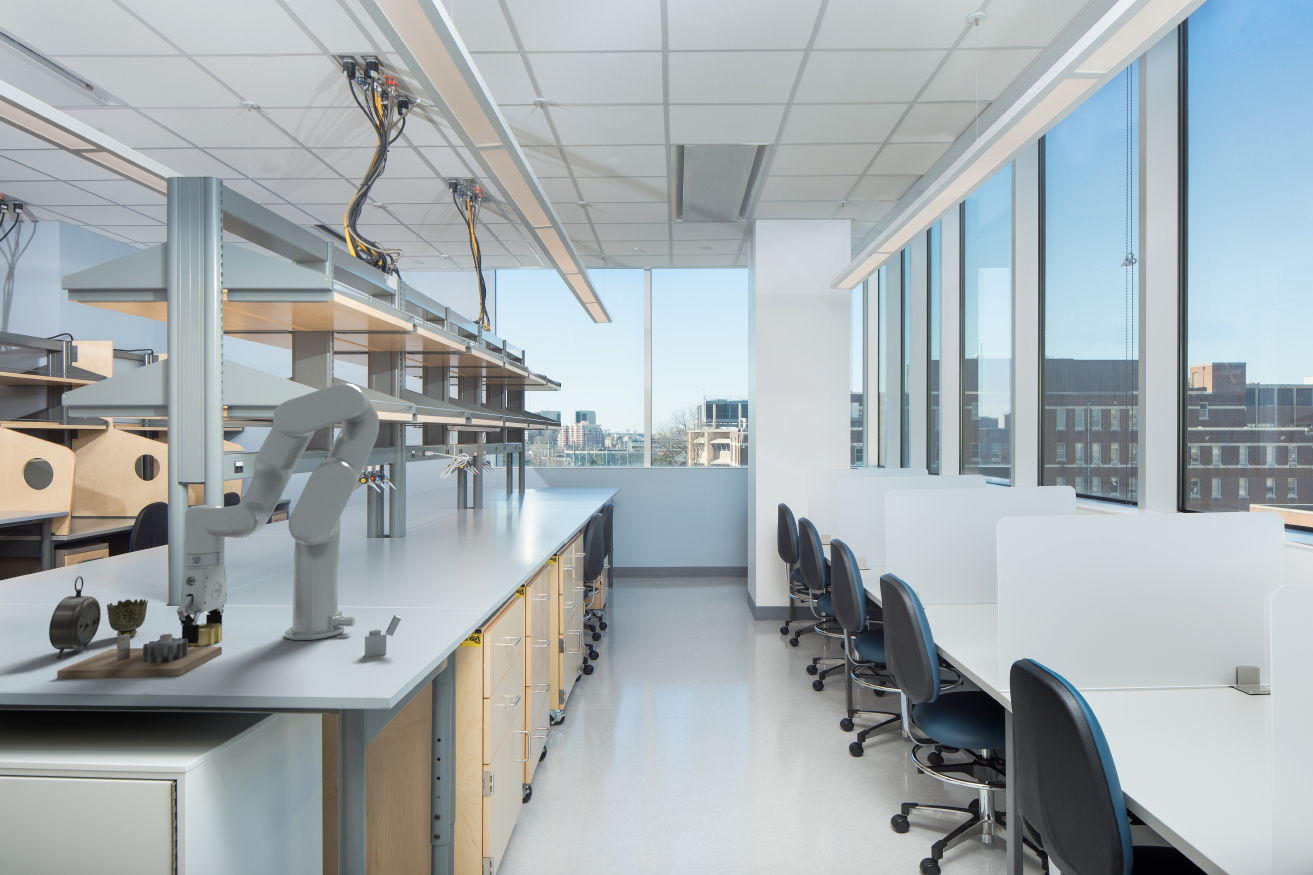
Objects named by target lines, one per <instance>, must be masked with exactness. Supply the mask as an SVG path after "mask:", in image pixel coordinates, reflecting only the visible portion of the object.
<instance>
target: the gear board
mask: <svg viewBox="0 0 1313 875" xmlns="http://www.w3.org/2000/svg"><path fill="white" fill-rule="evenodd" d="M116 642H117V644H116V645H117V647H116V648H110V649H108V650H106V651H103V652H100V653H97V654H95V655H92V656H90V657H88V658H85V659H83V660H81V661H78V662H76V663H73V664H71V665H67V666H65V667H63V668H61V669H59V670H58V669H57V671H56V673H57V674H56V679H59V680H64V679H100V678H101V679H103V678H104V679H106V678H107V679H108V678H144V677H145V678H147V677H148V678H149V677H150V678H154V677H158V678H159V677H182V676H183V675H185V674H188V672H190V671H192V670H195V669H196V668H198V667H200V666H201V665H203V664H206V663H208V662H209V661H211V660H213V659H215V658H216V657H219V656H220V655H222V653H223V652H222V651H223V647H222V646H202V647H201V646H196V647H191V646H188V639H183V638H182V637H178V638H175V637H173V634H172V633H163V634H161V635H159V639H158V640H155V641H153V640H152V641H149V642H148V643H144V644H143V646H142V647H140V648H138V647H136V648H135V647H134V648H132V647H131V637H130V635H120V636H117V640H116Z"/></svg>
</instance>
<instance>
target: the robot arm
mask: <svg viewBox="0 0 1313 875" xmlns="http://www.w3.org/2000/svg"><path fill="white" fill-rule="evenodd" d="M272 422H273V425H272V427H271V429H270V430H269V433H268V434H267V436H266V438H265V440H264V441H263V443H262V445H260V449H259V450H258V452H257V453H256V455H255V457H254V461H253V475H252V477H251V480H250V483H249V485H248V487H247V489H246V491H245V493H244V494H243V496H242V498H241V500H240V501H239V502H238V504H236V505H231V506H222V505H217V504H200V505H192V506H189V507H188V508H187V509H186V511H185V512H184V544H183V546H184V549H183V569H184V572H183V578H182V582H181V583H182V585H181V593H180V594H181V596H180V604H179V606H178V608H177V609H176V613H177V615H178V620H179V621H180V626H181V638H183V639H188V643H197V642H198V641H199V624H200V623H199V624H198V621H199V619H200V616H201V614H206V621H205V622H206V623H205V624H209V623H214V624H216V623H220V624H222V625H223V614H224V607H225V605H226V603H227V601H228V591H227V590H228V588H227V587H228V586H227V584H228V583H227V582H228V581H227V572H226V566H225V538H236V539H237V538H239V539H241V538H247V537H250V536H251V535H254V534H255V533H256V532H257V533H258V532H259V531H261V530H262V529H263V528H264V527H265V526H266V525H267V523H268V522H269V520H270V518H271V517H272V514H273V513H274V511H275V509H276V507H277V505H278V504H279V502H280V500H281V498H282V496H283V494H284V492H285V489H286V488H287V485H288V483H289V482H290V480H291V478H292V475H293V474H294V471H295V469H296V468H297V466H298V464H299V462H300V460H301V458H302V456H303V454H304V453H305V451H306V449H307V448H308V445H309V444H310V442H311V440H312V438H313V437H314V434H315V432H316V431H318V430H321V429H323V428H324V429H325V428H328V427H330V426H332V425H335V424H338V423H341V426H340V431H339V432H338V435H337V436H336V437H335V440H334V442H333V445H332V447H331V449H330V451H329V453H328V455H327V456H326V458H325V460H324V461H323V462H321V463H320V464H318V465H317V466H316V467H315V468H314V469H313V471H312V473H311V474H310V476H309V478H308V479H307V482H306V484H305V486H304V487H303V490H302V492H301V494H300V495H299V498H298V500H297V502H296V504H295V506H294V508H293V510H292V512H291V514H290V516H289V519H288V531H289V533H290V535H291V537H292V538H293V539H294V540H295V541H294V553H293V554H294V555H293V578H292V579H293V586H292V588H293V590H292V591H293V592H292V626H291V627H290V628H287V629H286V630H284V637H285V638H286V639H288V640H292V641H293V640H294V641H311V640H320V639H321V640H322V639H327V638H330V637H333V636H337V635H339V634H342V633H343V632H344V631H345V627H354V626H355V623H356V619H355V618H354V617H353V616H343V614H342V610H338V609H339V608H338V604H339V603H338V601H339V596H338V595H339V563H340V557H339V556H340V536H341V516H342V514H343V512H344V511H345V508H346V506H347V504H348V502H349V500H350V498H351V496H352V494H353V492H354V491H355V490H356V489H357V487H358V485H359V484H358V483H359V481H360V477H361V475H362V473H363V471H364V469H365V467H366V465H367V463H368V460H369V458H370V455H371V453H372V451H373V448H374V446H375V444H376V441H377V440H378V436H379V433H380V432H379V430H380V419H379V415H378V411H377V409H376V407H375V406H374V404H373V403H372V401H371V400H370V399H369V397H368V396H367V395H366V394H365V393H364V392H363V390H362V389H360V387H358V386H357V385H355V384H352V383H348V382H344V383H337V384H333V385H330V386H327V387H325V388H321V389H317V390H315V391H313V392H310V393H306V394H303V395H301V396H297V397H294V398H291V399H288V400H286V401H283V402H282V403H279V405H277V407H275V410H274V412H273V414H272ZM207 613H208V614H207Z"/></svg>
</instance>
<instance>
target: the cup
mask: <svg viewBox="0 0 1313 875" xmlns="http://www.w3.org/2000/svg"><path fill="white" fill-rule="evenodd" d="M148 602H149V601H148V600H146V599H142V598H141V599H139V600H138V599H137V598H136V599H134V600H133V601H132V600H131V599H126V600H124V601H122V600H117V604H113V603H112V602H110V603H109V604H108V603H107V604H106V608H107V616H108V623H109V626H110V628H111V629H112V630H113V631H116V632H117V633H116V636H117V637H118V636H120V635H130V638H132V637H133V638H134V636H136V635H137V633H138V630H137V629H139V628H140V627H141V626H142V625H143V624H144V622H145V620H146V614H147V608H148Z"/></svg>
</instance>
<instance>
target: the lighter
mask: <svg viewBox="0 0 1313 875" xmlns="http://www.w3.org/2000/svg"><path fill="white" fill-rule="evenodd" d="M401 620H402V616H400V615H397V614H394V615H393V617H392V618H391V621H390V623H389V625H388V626H387V629H386V630H385V632H382V630H381V628H377V629H371V630H369V631H368V634H364V657H365V658H368V657H376V656H377V657H378V656H383V655H385V656H386V655H387V635H388V636H391V637H393V636H394V634H395V632H396V630H397V628H398V626H399V624H400V621H401Z"/></svg>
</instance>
